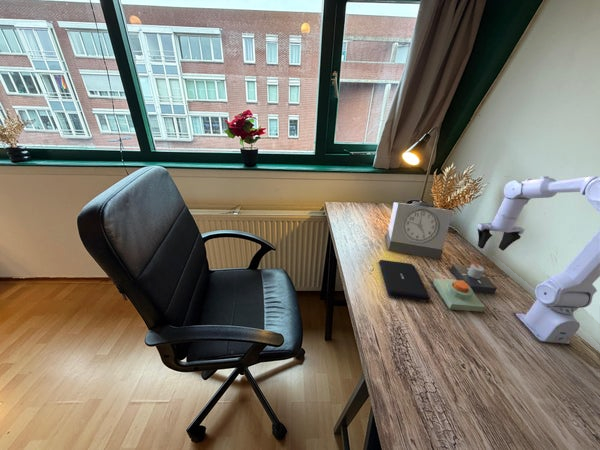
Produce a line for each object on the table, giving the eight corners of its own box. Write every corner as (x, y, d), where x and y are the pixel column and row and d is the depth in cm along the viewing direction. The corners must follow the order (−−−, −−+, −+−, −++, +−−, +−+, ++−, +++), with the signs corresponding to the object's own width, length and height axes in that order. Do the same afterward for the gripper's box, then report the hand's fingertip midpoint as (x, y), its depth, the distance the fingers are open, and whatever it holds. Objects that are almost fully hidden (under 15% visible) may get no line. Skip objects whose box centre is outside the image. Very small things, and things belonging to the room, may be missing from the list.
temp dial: (482, 279, 86) (487, 270, 84) (471, 278, 86) (475, 269, 84) (476, 272, 89) (480, 263, 88) (465, 271, 89) (469, 262, 88)
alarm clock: (388, 250, 103) (400, 206, 94) (385, 232, 117) (396, 192, 108) (440, 259, 100) (458, 214, 90) (431, 240, 113) (446, 199, 104)
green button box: (482, 311, 76) (487, 302, 74) (449, 309, 76) (454, 299, 74) (461, 285, 86) (465, 276, 84) (432, 283, 86) (436, 274, 85)
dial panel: (494, 293, 83) (497, 287, 82) (467, 291, 84) (470, 285, 82) (473, 271, 94) (476, 265, 93) (450, 269, 94) (452, 263, 93)
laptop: (421, 268, 93) (422, 264, 93) (431, 306, 76) (433, 301, 75) (378, 260, 97) (379, 255, 96) (378, 294, 80) (380, 289, 79)
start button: (469, 293, 78) (471, 289, 77) (456, 292, 78) (458, 287, 77) (462, 284, 81) (464, 280, 80) (450, 283, 81) (452, 279, 80)
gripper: (520, 212, 88) (503, 244, 94) (479, 208, 88) (465, 240, 95) (535, 221, 82) (516, 254, 88) (491, 217, 82) (475, 250, 89)
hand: (490, 248), depth 91 cm, fingers open, 7 cm apart
